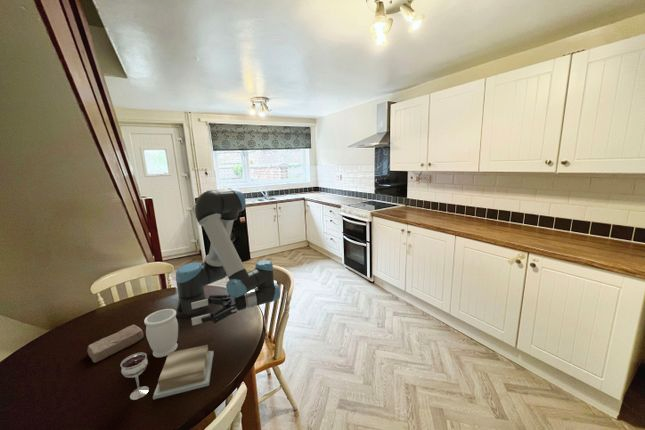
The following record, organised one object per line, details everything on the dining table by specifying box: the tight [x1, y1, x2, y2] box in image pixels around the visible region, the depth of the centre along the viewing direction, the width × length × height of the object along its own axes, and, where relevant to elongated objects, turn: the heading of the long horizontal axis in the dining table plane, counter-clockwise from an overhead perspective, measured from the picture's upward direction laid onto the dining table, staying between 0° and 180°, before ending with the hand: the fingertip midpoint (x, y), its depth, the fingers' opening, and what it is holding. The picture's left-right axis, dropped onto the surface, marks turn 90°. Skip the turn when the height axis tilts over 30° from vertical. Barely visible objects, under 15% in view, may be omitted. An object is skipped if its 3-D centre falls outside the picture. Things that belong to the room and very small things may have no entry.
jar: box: [143, 308, 179, 358], centre depth 99 cm, size 11×10×15 cm
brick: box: [87, 324, 144, 363], centre depth 103 cm, size 17×8×5 cm, turn 147°
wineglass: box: [120, 351, 150, 401], centre depth 80 cm, size 7×7×12 cm
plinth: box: [157, 344, 210, 391], centre depth 88 cm, size 13×13×4 cm
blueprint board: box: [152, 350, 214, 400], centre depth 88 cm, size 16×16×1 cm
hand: (191, 313), depth 102 cm, fingers open, 13 cm apart
